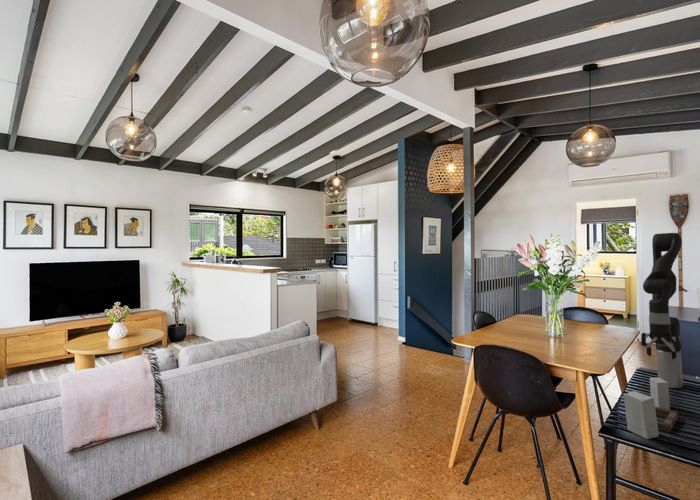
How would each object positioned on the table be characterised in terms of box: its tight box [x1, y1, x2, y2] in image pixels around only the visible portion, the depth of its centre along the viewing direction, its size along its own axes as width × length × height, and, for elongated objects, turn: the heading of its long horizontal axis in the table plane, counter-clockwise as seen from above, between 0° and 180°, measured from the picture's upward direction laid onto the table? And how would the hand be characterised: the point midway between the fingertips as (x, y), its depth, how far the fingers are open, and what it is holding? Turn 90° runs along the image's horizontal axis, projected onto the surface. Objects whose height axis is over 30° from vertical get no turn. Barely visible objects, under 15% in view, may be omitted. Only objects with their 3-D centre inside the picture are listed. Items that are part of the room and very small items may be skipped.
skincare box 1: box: [623, 390, 660, 440], centre depth 147 cm, size 8×6×15 cm
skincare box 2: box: [649, 377, 671, 410], centre depth 165 cm, size 6×4×12 cm
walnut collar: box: [624, 407, 679, 433], centre depth 156 cm, size 15×14×2 cm
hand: (661, 357), depth 175 cm, fingers open, 8 cm apart
